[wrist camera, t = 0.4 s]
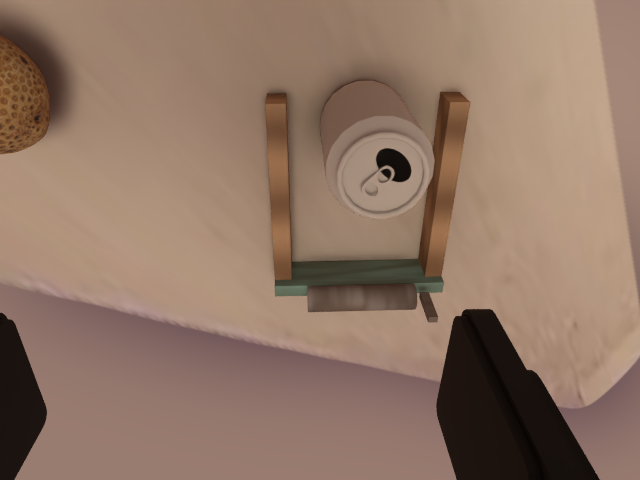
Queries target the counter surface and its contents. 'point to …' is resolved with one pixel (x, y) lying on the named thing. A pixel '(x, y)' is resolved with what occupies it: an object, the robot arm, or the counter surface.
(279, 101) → the bay
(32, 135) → the natural sponge
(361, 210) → the can
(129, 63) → the counter surface
